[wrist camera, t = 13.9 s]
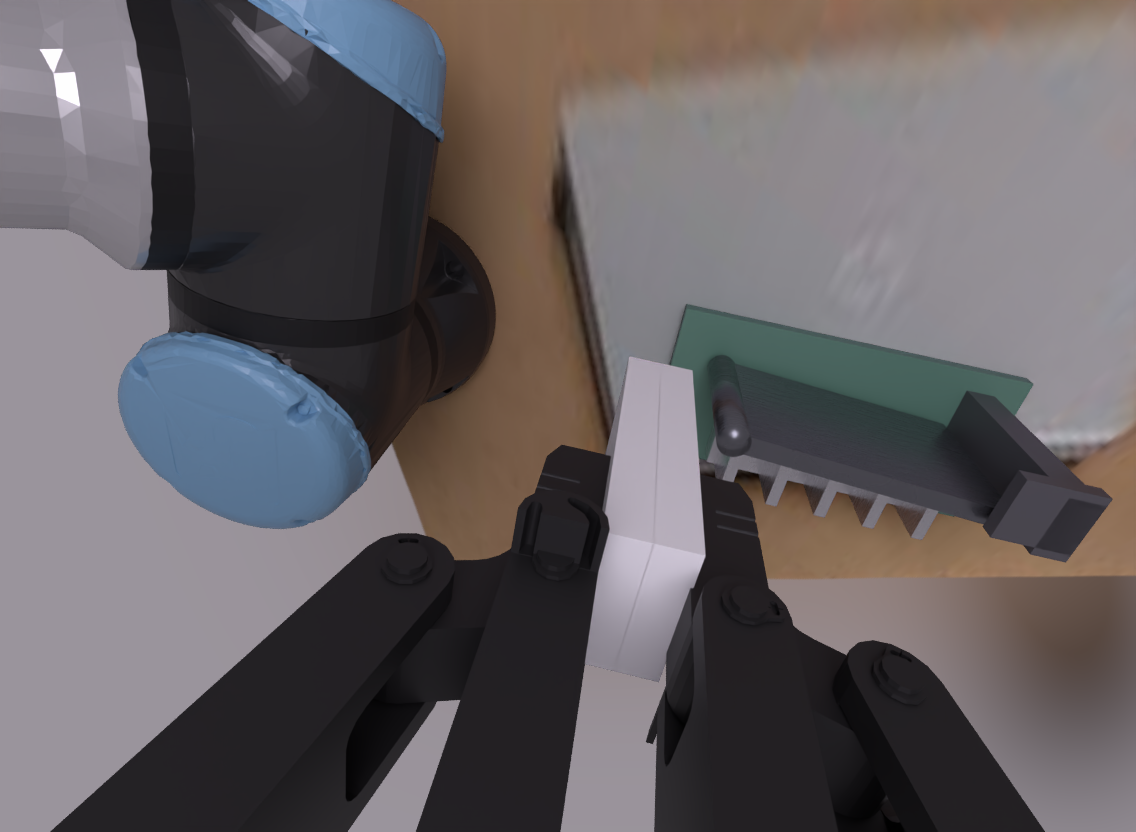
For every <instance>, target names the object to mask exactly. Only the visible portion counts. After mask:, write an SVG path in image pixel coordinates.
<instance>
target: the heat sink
mask: <svg viewBox="0 0 1136 832" xmlns="http://www.w3.org/2000/svg"><path fill="white" fill-rule="evenodd" d="M706 460H707V462H709V463H714V466H715V475H716V478H717V479H721V480H726V481H730V482H734V479H735V476H736V474H737V471H738V469H740V470H744V471H749V472H753V473H758V474H759V477H760V482H761V486H762V491H763V496H764V500H765V504H768V505H772V506H777V504H778V501H779V499H780V496H781V494H782V492H783V489H784V487H785V485H786V482H787V480H788V481H793V482H797V483H801V484H804V487H805V490H806V494H807V497H808V500H809V503H810V506H811V509H812V512H813V515H816V516H820V517H824V518H825V516H826V513H827V511H828V509H829V507H830V505H831V503H832V501H833V499H834V497H835V494H836V492H841V493H845V494H848V495H849V497H850V499H851V502H852V504H853V506H854V509H855V511H856V513H857V516H858V518H859V520H860V523H861V525H862V526H863V527H868V528H872V529H873V528H874V526H875V524H876V522H877V520H878V518H879V517H880V515H881V513H882V511H883V509H884V507H885V505H886V503H889V504H893V505H894V506H895V508H896V510H897V512H898V514H899V516H900V518H901V520H902V522H903V524H904V525H905V527H906V529H907V531H908V533H909V535H910V537H911V538H915V539H920V540H922V539H923V537H924V536H925V534H926V532H927V530H928V529H929V527H930V525H931V524H932V522H933V520H934V518H935V517H936V515H937V513H938V512H939V511H936V510H933V509H929V508H926V507H922V506H919V505H915V504H912V503H909V502H905V501H902V500H898V499H895V498H891V497H888V496H884V495H881V494H878V493H874V492H871V491H867V490H864V489H860V488H857V487H853V486H850V485H847V484H843V483H840V482H836V481H833V480H829V479H826V478H822V477H819V476H816V475H812V474H809V473H805V472H802V471H798V470H795V469H791V468H788V467H785V466H781V465H778V464H774V463H771V462H767V461H764V460H760V459H757V458H754V457H750V456H747V455H741V456H738V457H729V456H726V455H724V454H722V453H721V452H720V451H719V450H718V448H717V444H716V436H715V428H714V425H713V428H712V431H711V434H710V437H709V440H708V443H707V446H706Z"/></svg>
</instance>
